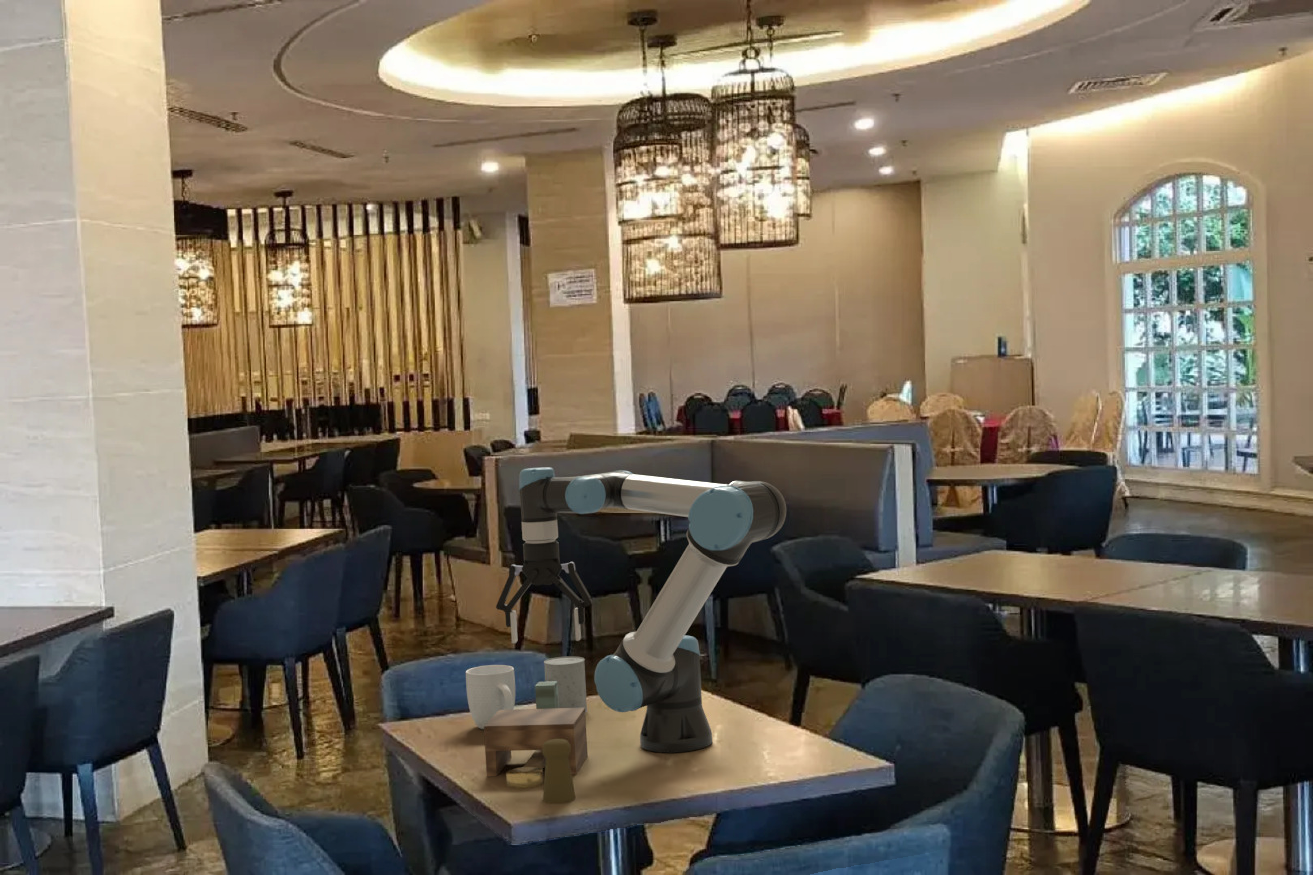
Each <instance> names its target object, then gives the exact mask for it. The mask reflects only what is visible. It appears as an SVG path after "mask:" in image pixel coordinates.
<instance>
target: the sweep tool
mask: <svg viewBox="0 0 1313 875" xmlns="http://www.w3.org/2000/svg"><path fill="white" fill-rule="evenodd" d="M534 689H535V690H534V691H535V704H536V705H535V706H536V708H535V709H552V708H559V702H558V684H557V681H549V682H545V681H538V682H537V683H536V684H535V686H534ZM522 767H537V768H540V769H542V771H543V770H544V769H545V767H546V758H545V757H544V755H543V750H534V752H533V753H532V754H531V755H530V757H529V759H527V761H526V762H525V764H524V765H523V766H522ZM543 768H544V769H543Z"/></svg>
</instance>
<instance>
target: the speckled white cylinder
mask: <svg viewBox="0 0 1313 875" xmlns="http://www.w3.org/2000/svg"><path fill="white" fill-rule="evenodd" d="M585 660H586V659H585V658H584V657H581V656H571V655H570V656H559V657H558V656H557V657H551V658H547V659H546V660H544V661H543V664H544V682H549V681H557V684H558V702H559V708H585V714H587V713H588V707H587V706H588V705H587V704H588V703H587V702H588V701H587V689H586V688H587V686H586V671H585V670H586V669H585V668H586V667H585V666H586V665H585ZM586 712H587V713H586Z"/></svg>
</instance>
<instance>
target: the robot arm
mask: <svg viewBox="0 0 1313 875" xmlns="http://www.w3.org/2000/svg"><path fill="white" fill-rule="evenodd" d="M518 482H519V486H518V487H519V488H518V492H519V499H520V501H519V502H520V511H521V512H520V513H521V532H522V534H521V536H522V540H523V541H525V542H524V543H523V544H522V548H523V550H522V552H523V553H522V554H523V565H517V564H511V565H510V566H509V567H508V577H507V580H506V582H505V584H504V586H503V589H502V591H501V593H500V596H499V599H498V600H497V603H496V605H495V608H496V610H500V611H503V612H504V615H505V626H506V628H510V634H511V636H510V637H511V644H517V642H518V640H519V639H518V624H517V610H513V608H514V607H515V606H516V604H517V603H518V602H519V600H520V599H521V598H522V597H523V595H524V594H525V593H526V591H527V590H528V588H529V587H530V586H531V585H534V586H541V585H543V586H550V585H552V584H554V585H555V586H556V587H557V588H558V589H559V590H560V591H561V592H562V593H563V594H564V595H565V596H566V597H567V598H568V599H569V600H570V602H571V603H573V605H574V606H575V608H574V609H573V615H574V616H573V617H574V632H575V633H574V634H575V641H577V642H579V641H580V640H581V639H582V634H581V632H582V630H581V625H584V624H585V622H586V617H585V616H586V614H585V608H587V607H589V606H591V604H593V601H594V600H593V599H592V597H591V595H590V593H589V591H588V590H587V588H586V586H585V584H584V582H583V580H581V577H580V576H579V574H578V572H577V568H576V567H577V566H576V563H575V562H574V561H570V562H567V563H562V562H561V560H560V545H559V542H558V540H557V539H558V538H559V527H558V514H561V513H562V514H579V515H585V514H594V513H597V512H599V510H603V509H604V510H605V509H611V508H613V509H614V508H616V509H623V510H633V511H634V510H635V511H641V512H648V513H656V514H661V515H664V514H665V515H669V516H670V515H671V516H677V517H685V518H687V520H688V521H689V524H688V529H687V531H686V538H687V541H688V545H687V546H686V548H685V550H684V551H683V553H682V555H681V557H680V558H679V560H678V561H677V563H676V564H675V567H674V568H673V570H672V572H671V573H670V575H669V576H668V578H667V580H666V581H665V583H664V585H663V587H661V590H660V591H659V593H658V595H657V596H656V597H655V598H656V599H655V600H654V601H653V603H652V605H651V607H650V608H649V610H648V612H647V613H646V615H645V617H644V618H643V620H642V622H641V623H640V625H639V627H638V628H637V630H636V631H629V633H626V634H625V636H624V637H623V639H622V640H621V642H620V643H619V646H618V647H617V649H616V650H615V652H614V653H613V654H610V655H606V656H605V657H604V658H602V659H601V660H600V661H599V662H598V663H597V665H596V667H595V671H594V678H593V679H594V684H595V686H596V692H597V695H598V696H599V698H600V700H601V701H602V702H603V704H604V705H606V706H607V707H608V708H609V709H611V710H613V711H615V712H618V713H628V712H634V711H637V710H639V709H641V708H644V707H646V711H645V715H644V719H643V722H642V726H641V731H640V734H639V741H640V742H639V743H640V744H639V746H640V747H641V748H642V749H644V750H647V751H650V752H655V753H683V752H684V753H685V752H691V751H697V750H701V749H705V748H706V747H709V746H711V745H712V743H713V732H712V729H711V726H710V723H709V721H708V719H707V718H708V717H707V716H706V713H705V710H704V707H703V698H702V696H703V695H702V678H701V658H700V657H701V652H700V646H699V640H698V639H697V638H696V637H694V636H691V635H686V634H687V632H688V631H689V629H690V627H691V626H692V624H693V622H694V621H695V620H696V618H697V616H698V614H699V613H700V611H701V610H702V608H703V607H704V605H705V603H706V602H707V600H708V598H709V597H710V595H711V593H712V592H713V591H714V588H715V587H716V586H717V583H718V582H719V581H720V579H721V577H722V576H723V575H724V573H725V571H726V570H727V568H728V567H734V566H737V565H738V564H739V563H740V561H741V560H742V558H743V557H744V555H745V553H746V552H747V549H749V547H750V546H751V544H752V543H756V542H761V541H763V540H766V539H769V538H771V537H773V536H775V534H777V533H778V532H779V531H780V530H781V529H782V527H783V525H784V524H785V521H786V517H787V505H786V501H785V498H784V496H783V495H782V493H781V491H780V490H778V488H777V487H775V486H774V485H772V484H770V483H769V482H766V481H760V480H757V481H756V480H754V481H753V480H752V481H744V480H743V481H742V480H734V481H732V482H730V483H729V484H726V483H725V484H724V483H717V482H716V483H715V482H709V481H708V482H707V481H697V480H688V479H679V478H670V477H661V476H653V475H643V474H634V473H633V472H632V471H628V470H613V471H609V472H601V473H595V474H586V475H577V476H566V477H565V476H564V477H562V476H561V477H560V476H559V477H558V476H556V474H555V469H554V468H553V467H549V466H548V467H546V466H545V467H542V466H541V467H528V468H524V469H522V470H521V471H520V472H519V481H518ZM562 570H564V571H565V573H566V574H569V577H570V578H571V580H572V582H573V584H574V586H575V588H576V589H577V591H578V593H579V595H580V597H581V598H582V599H581V598H580V597H579V596H578V595H577V594H576V592H574V591H573V589H572V588H570V587H569V585H568V584H567V583H566V582H565V581H564V579H563V578H562V577H561V576H560V573H561V572H562ZM521 572H522V573H523V575H525V577H526V579H525V580H524V582H523V584H522V585H521V586H520V587H519V589H518V590H517V592H516V593H515V594H514V596H513V597H512V598H511V599H510V600H509V602H508V603H507V604H506V601H507V599H508V596H509V594H510V592H511V590H512V587H513V585H514V582H515V581H516V577H517V576H519V575H520V573H521Z"/></svg>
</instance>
